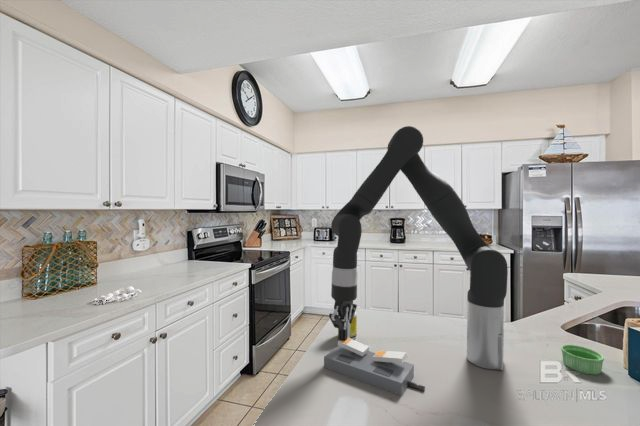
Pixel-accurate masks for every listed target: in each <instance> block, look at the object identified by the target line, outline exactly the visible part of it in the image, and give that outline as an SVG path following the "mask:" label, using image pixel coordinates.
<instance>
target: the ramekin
mask: <svg viewBox="0 0 640 426" xmlns="http://www.w3.org/2000/svg"><path fill="white" fill-rule="evenodd" d="M560 349H561V350H560V351H561V353H562V362H563V364H564V365H565V366H566V365H567V366H566V367H568V368H569V367H570V369H571V370H573V369H574V370H573V371H576V372H579V373H581V374H586V375H595V376H596V375H600V374H601V373H602V370H603V362H604V360H605V357H604V355H603V354H602V353H600V352H598V351H596V350H594V349H592V348H588V347H585V346H581V345H577V344H576V345H575V344H562V345H561V347H560Z"/></svg>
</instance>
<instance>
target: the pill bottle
mask: <svg viewBox="0 0 640 426" xmlns="http://www.w3.org/2000/svg"><path fill="white" fill-rule="evenodd" d="M353 304H355V303H354V302H353ZM357 315H358V314H357V311H355V314H354V317H353V320H352V323H351V324H350V323H349V327H348V332H347V337H348V338H350V339H353V340H355V339H356V338H357V336H358V335H357V333H358V332H357V330H358V328H357V326H358V325H357V323H358V320H357V319H358V316H357ZM337 335H338V336H339V329H338V328H337Z"/></svg>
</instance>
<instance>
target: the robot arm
mask: <svg viewBox="0 0 640 426" xmlns="http://www.w3.org/2000/svg"><path fill="white" fill-rule="evenodd" d="M423 145H424V136H423V133H422V132H421V131H420V129H418V128H417V127H415V126H411V125H406V126H403V127H401V128H399V129H398V130H397V131H395V133H394V134H393V136H392V137H391V139H390V140H389V142H388V144H387V148H386V149H387V150H386V152H385V154H384V155H383V157H382V158H381V160H380V162H378V164H377V165H376V166H375V168H374V169H373V170H372V171H371V172H370V173H369V175H368V176H367V177H366V179H365V180H364V181H363V182H362V184H361V185H360V186H359V188H358V189H357V190H356V192H355V193H354V194H353V196H352V197H351V198H350V200H349V201H348V202H347V203H346V204H344V206H343V207H342V208H341V209H340V210H339V211H338V212H337V213H336V214H335V216H334V217H333V219H332V221H331V231H332V232H333V234H334V235H335V236H336V237H337V246H336V247H335V248H334V249H333V255H332V271H331V289H330V290H331V295H330V296H331V298H332V299H333V300H334V305H333V309H334V310H333V312H332V313H329V315H328V317H329V320H330V322H331V324H332V325H333V327H334V328H336V329H337V330H338V329H339V336H338V337H337V338H338V341H339V340H344V341H346V340H347V332H348V327H349V323H350V324H351V323H352V320H353V317H354V314H355V311H356V310H357V307H358V305H357V304H356V303H354V301H355V300H356V299H357V298H358V268H357V267H358V251H359V249H360V243H361V239H362V238H361V237H362V232H363V231H362V224H361V219H362V218H363V217H365V216H367V215H369V214H370V213H371V212H372V211H373V210H374V208H375V207H376V205H378V203H379V202H380V200H381V199H382V197H383V195H384V194H385V193H386V192H387V190H388V188H389V187H390V185H391V184H392V182H393V181H394V179H395V178H396V176H397V175H398V173H400V171H401V172H402V174H403V176H405V177H406V178H407V180H408V181H409V183H411V185H412V188H413V189H414V190H415V192H416V194H417V195H418V196H419V198H420V199H421V200H422V202H423V204H424V206H425V207H426V208H427V210H428V211H429V212H430V214H431V216H432V217H433V218H434V219H435V221H436V222H437V223H438V225H439V226H440V228H441V229H442V230H443V231H444V232H445V233H446V235H448V237H449V239H450V240H451V241H452V243H454V245H455V247H456V249H457V251H458V252H459V255H460V256H461V258H462V260H463V262H464V263H465V265H466V268H467V269H468V270H469V272H470V280H469V281H470V282H469V289H468V291H467V297H466V298H467V299H466V301H467V303H466V304H467V305H466V307H467V308H466V320H467V321H466V359H467V361H469V362H470V363H471V364H473V365H475V366H477V367H480V368H481V369H487V370H501V371H503V370H504V359H505V358H504V352H505V350H504V345H505V343H504V341H505V339H504V338H505V337H504V334H505V330H504V321H505V320H504V318H505V317H504V316H505V315H504V314H505V313H504V312H505V311H504V308H505V307H504V305H505V298H506V296H507V292H508V291H507V290H508V276H509V275H508V272H509V271H508V270H509V269H508V263H507V260H506V258H505V256H504V254H503V253H501V252H500V251H498V250H496V249H493V248H492V247H490V245H488V243H486V241H485V240H484V239H483V237H482V236H481V235H480V234H479V233H478V231H477V230H476V228H475V227H474V224H473V222H472V220H471V217H470V216H469V213H468V211H467V208H466V206H465V204H464V202H463V200H461V199H462V198H460V197H459V195H458V193H457V192H456V191H455V189H454V188H453V187H452V186H451V185H450V183H448V182H447V180H445V179H443V178H442V177H440V175H438V174H437V173H435V172H433V171H432V170H431V169H430V168H429V167H428V166H427V165H426V164H425V162H424V161H423V159H422V158H421V156H420V154H419V153H420V151H421V149H422V148H423ZM353 303H354V304H353ZM356 312H357V311H356Z"/></svg>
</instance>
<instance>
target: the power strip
mask: <svg viewBox="0 0 640 426" xmlns="http://www.w3.org/2000/svg"><path fill="white" fill-rule="evenodd" d="M376 353H377V352H373V351H370V350H369V351H368V352H367V353H365V354H364V355H363V356H360V355H358V354H356V353H354V352H352V351H350V350H347V349H345V348H343V347H341V346H339V345H337V346H336V347H334V348H333V349H332V350H331V351H329V352H328V353H327V354H325V355H324V356H323V368H325V369H328V370H330V371H332V372H336V373H338V374H341V375H344V376H346V377H349V378H352V379H355V380H357V381H360V382H363V383H365V384H369V385H372V386H373V387H377V388H379V389H382V390H385V391H387V392H390V393H393V394H396V395H399V396H401V397H403V395H404V393H405V391H406V389H407V387H411V388H414V389H417V390H421V391H424V392H425V390H426V386H424V385H422V384H418V383H415V382H412V379H413V377H414V376H415V365H414V363H409V362H407V361H404V362H403V364H402V363H390V362H379V361H374V360H373V356H374V355H375V354H376Z"/></svg>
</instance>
